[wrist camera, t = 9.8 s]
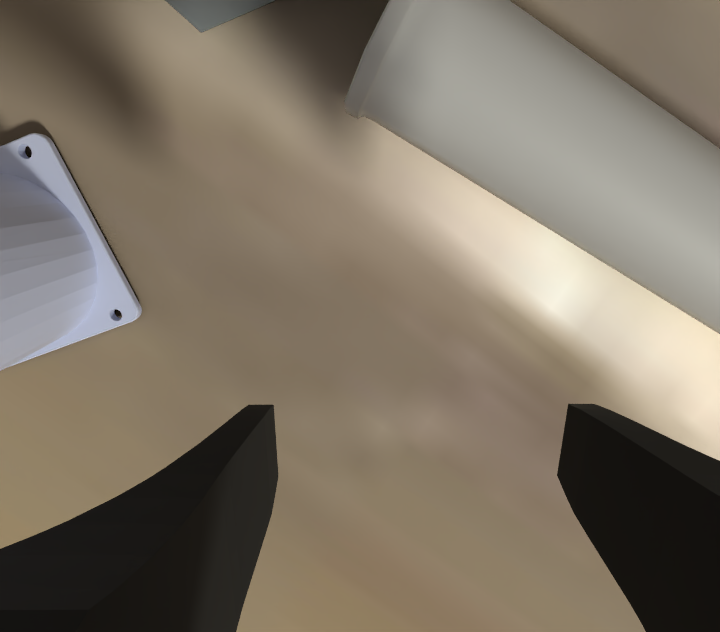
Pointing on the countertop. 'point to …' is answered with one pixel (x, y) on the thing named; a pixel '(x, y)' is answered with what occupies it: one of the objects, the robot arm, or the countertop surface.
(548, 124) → the tube
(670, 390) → the countertop surface
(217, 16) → the hole block
